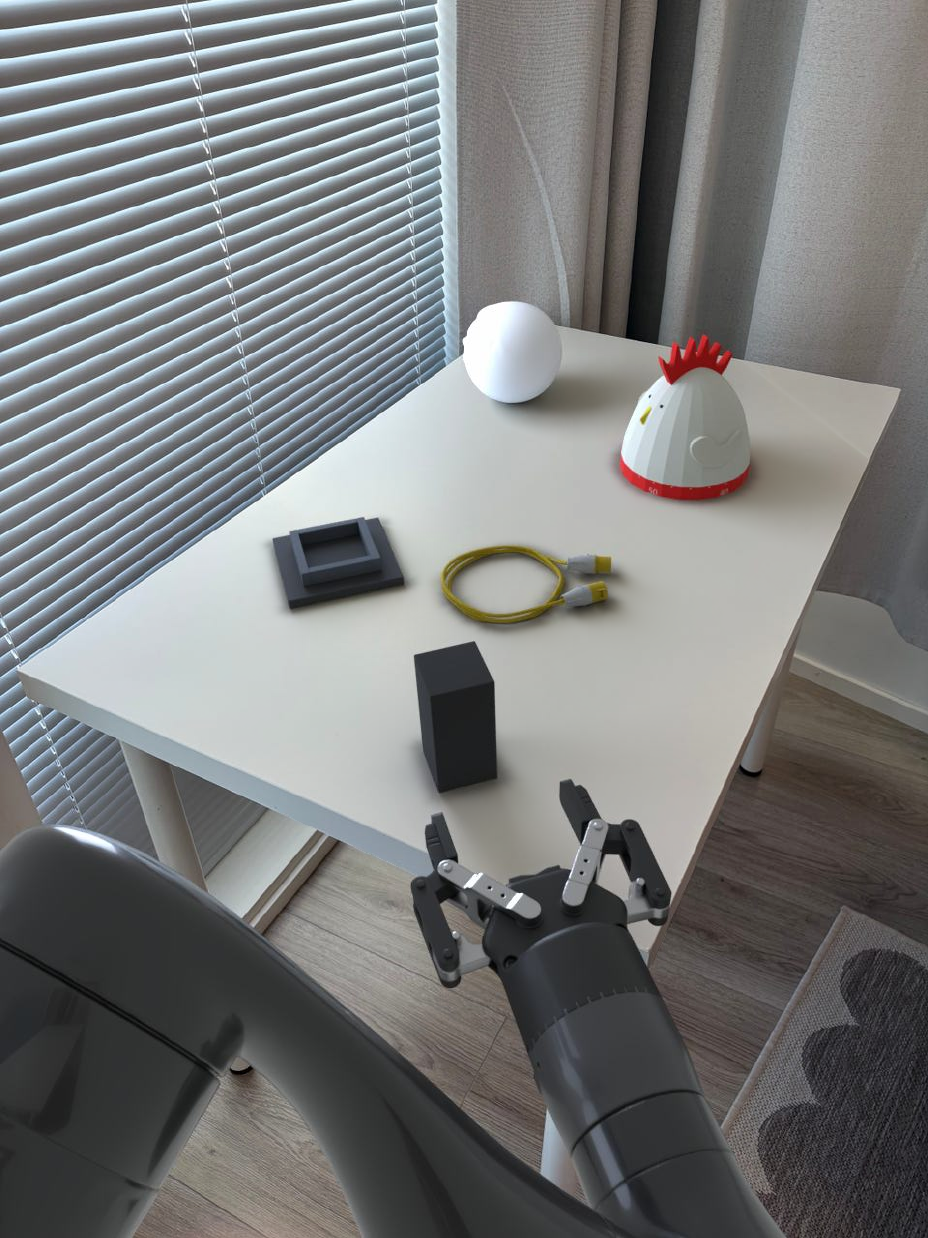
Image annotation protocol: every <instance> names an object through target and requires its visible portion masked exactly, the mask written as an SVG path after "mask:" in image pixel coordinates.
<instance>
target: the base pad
mask: <svg viewBox="0 0 928 1238" xmlns="http://www.w3.org/2000/svg"><path fill="white" fill-rule="evenodd" d="M288 533H289V534H287V535H281V536H277V537H272V538H271V539H272V544H273V549H274V552H275V556H276V560H277V564H278V568H279V572H280V576H281V580H282V584H283V587H284V591H285V596H286V600H287V603H288V608H289V609H290V610H292V609H297V608H301V607H307V606H311V605H315V604H321V603H324V602H330V601H334V600H339V599H343V598H348V597H353V596H357V595H362V594H366V593H367V594H368V593H373V592H377V591H381V590H386V589H391V588H395V587H400V586H404V585H405V579H404V575H403V573H402V570H401V568H400V565H399V563H398V561H397V559H396V557H395V553H394V552H393V549H392V547H391V545H390V542H389V540H388V537H387V535H386V533H385V530H384V527H383V526H382V523H381V521H380V519H379V517H374V518H368V519H365V516H361V517H356V518H351V519H346V520H340V521H336V522H330V523H326V524H320V525H315V526H311V527H305V528H299V529H293V530H289V532H288Z"/></svg>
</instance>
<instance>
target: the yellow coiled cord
mask: <svg viewBox="0 0 928 1238" xmlns="http://www.w3.org/2000/svg"><path fill="white" fill-rule="evenodd" d="M506 553H507V554H508V553H519V554H524V555H527V556H530V557H532V558H534V559H536V560H537V561H538V562H541V564H543V565H545V566H546V567H548V568H549V569H550V570H552V572H554V574H555V575H557V576H558V583H557V586H556V587H555V590H554V591H553V593H552V595H551V596H550V597H549V599H547V601H545V603H543V604H541V605H538V606H535V607H530V608H527V609H524V610H520V611H515V612H508V613H492V612H486V611H482V610H480V609H478V608H475V607H472V606H470V605H469V604H467V603H465V602H464V601H462V600H460V599H459V598H457V597H456V596H455V595H454V594H453V592H452V587H451V586H452V581H453V579H454V577H455V576H456V574H457V573H459V571H460V570H462V569H463V568H464V567H465V566H467V565H469V564H470V563H472V562H474V561H477V560H479V559H481V558H484V557H488V556H490V555H491V556H492V555H497V554H506ZM555 563H556V564H559V565H563V566H566V569H567V570H570V571H574V572H577V573H585V574H586V575H588V574H595V575H596V574H597V573H608V574H610V573H611V571H612V556H602V555H601V556H597V554H588V553H587V554H581V555H576V556H570V557H569V556H568V557H567V560H560V559H557V558H553V557H550V556H547V555H543V554H542V553H540V551H537V550H536V549H534V548H531V547H528V546H523V545H495V546H486V547H482V548H478V549H474V550H471V551H470V550H469V551H468V552H465V553H462V554H460V555H458V556H456V557H454V558H453V559H451V560H450V561H449V562H447V563H446V565H445V566H444V567H443V569H442V572H441V574H440V581H441V585H440V586H441V591H442V593H443V594H444V596H445V598H447V600H448V601H450V603H452V604H453V605H454V606H455V607H456V608H457V609H458V610H459V611H461V612H462V613H463V614H465V615H466V616H467V617H469V618H471V619H473V620H475V621H479V622H483V623H496V624H509V623H510V624H511V623H516V622H522V621H526V620H530V619H533V618H536V617H538V616H540V615H542V614H543V613H544V612H545V611H547V610H548V609H549V608H551V607H554V606H557V605H560V604H561V606H562V607H563V608H566V607H585V606H588V605H591V604H594V603H599V602H601V601H605V600H608V597H609V592H608V587H607V585H606V583H605V582H604V581H603V580H601V581H598V582H592V583H589V584H584V585H578V586H577V587H575V588H573V589H571V590H569V591H567V592H565V593H563V594H561V592H562V590H563V588H564V584H565V579H564V576H563V573H562V571H561V570H560V568H558V566H557V565H555ZM451 572H452V573H451ZM448 576H449V577H448ZM447 577H448V580H447ZM446 580H447V582H446ZM446 583H447V584H446ZM560 594H561V595H560ZM559 596H560V597H559ZM558 597H559V598H560V599H559V600H557V599H558ZM517 616H518V617H517Z"/></svg>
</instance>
